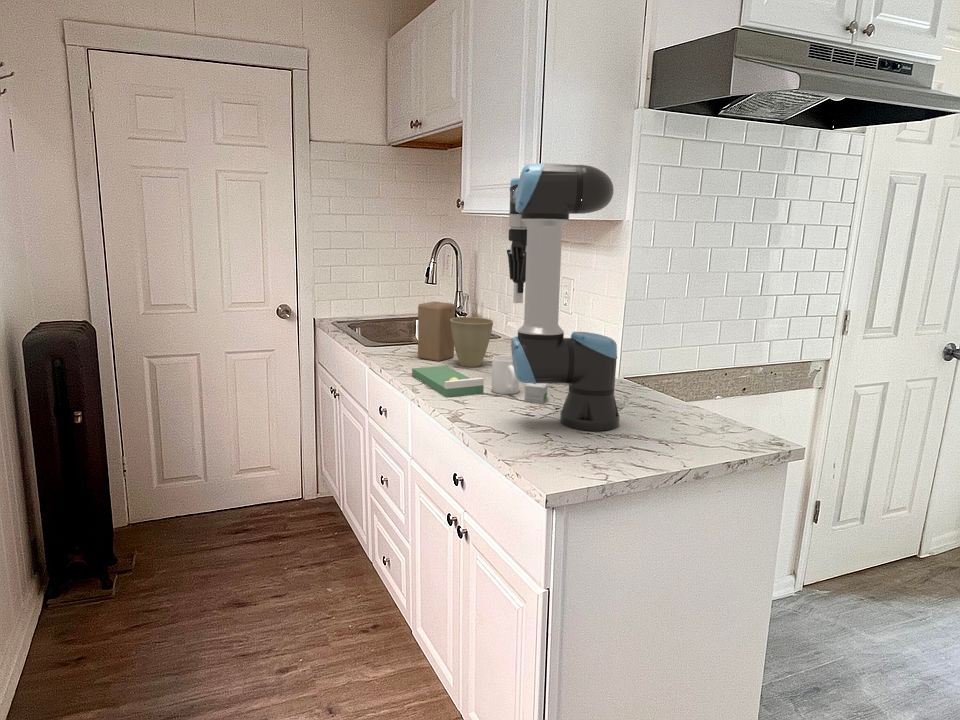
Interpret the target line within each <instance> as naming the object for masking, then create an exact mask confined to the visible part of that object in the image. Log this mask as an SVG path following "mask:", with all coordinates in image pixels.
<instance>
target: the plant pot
mask: <svg viewBox="0 0 960 720" xmlns="http://www.w3.org/2000/svg"><path fill="white" fill-rule="evenodd" d="M450 321H451V330H452V337H453V342H454V351H455V354H456V357H457V359H458V360H457V361H458V363H459V365H460V366H461V367H466V368H477V367H481V365H482V363H483V361H484V358H485V356H486V353H487V349H488V347H489V343H490V339H491V335H492V331H493V325H494V320H493V319H490V318H485V317H475V316H474V317H473V316H461V317H460V316H459V317H457V316H456V317H455V318H452V319H451V320H450Z"/></svg>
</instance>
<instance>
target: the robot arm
mask: <svg viewBox="0 0 960 720" xmlns="http://www.w3.org/2000/svg"><path fill="white" fill-rule="evenodd" d="M513 190H514V191H513ZM613 195H614V184H613V181H612V179H611V178H610V177H609V175H608V174H607V173H606V172H605V171H603V170H601V169H599V168H597V167H595V166H591V165H587V164H567V163H566V164H563V163H562V164H561V163H549V162H548V163H547V162H545V163H544V162H543V163H540V162H539V163H528V164H526V165H525V166H524V167H523V168H522V170H521V172H520V175H519V177H513V178H511V180H510V186H509V214H508V216H509V217H508V218H509V219H508V227H509V228H510V229H508V241H510V242H511V245H510V246H511V248H510V249H507V250H506V254H507V259H508V271H509V279H510V281H511V280H512V282H513V297H512V298H513V301H512V303H513V304H523V303H524V314H523V316H524V318H523V324H522V325H521V326H520V327H519V328H518V329H517V336H514V337H512V338H511V340H510V342H511V348H510V349H511V356H512V360H513V366H514V372H515V376H516V378H517V380H518V381H519V383H522V384H528V383H533V384H536V383H548V384H557V385H558V384H559V385H560V384H563V385H564V384H568V393H567V395H566V398H565V400H564V404H563V406H562V409H561V411H560V423H561V424H563V425H565V426H566V427H569V428H572V429H576V430H583V431H589V432H590V431H591V432H592V431H593V432H594V431H595V432H597V431H598V432H602V431H609V430H614V429H616V428H618V427H619V426H620V413H619V410H618V406H617V401H616V398H615V388H616V387H615V386H616V384H615V383H616V374H617V373H616V370H617V360H618V345H617V342H616V341H615V340H614V339H613V338H611V337H609V336H606V335H602V334H600V333H593V332H588V331H573V332H572V333H571V335H570V337H564V335H565V331H564V330H563V329H562V327H561V326H560V325H559V315H560V314H559V313H560V312H559V311H560V287H561V286H560V285H561V265H562V263H561V261H562V241H563V240H562V239H563V237H562V236H563V228H564V226H566V224H568V223H569V222H570V220H569V219H570V215H571V214H572V215H573V214H574V215H576V214H577V215H578V214H582V215H583V214H584V215H585V214H591V213H594V212H598V211H602V209H604V208H605V207H607V206H608V205H609V204H610V203H611V201H612V198H613ZM581 199H582V201H581ZM514 214H519V215H514ZM524 283H525V284H524ZM524 286H525V288H524Z"/></svg>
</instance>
